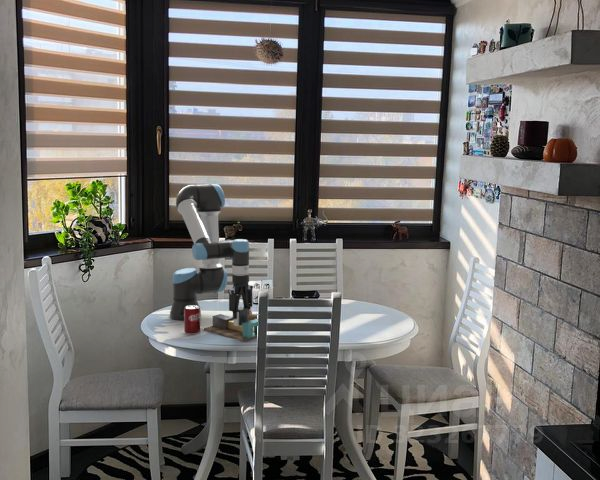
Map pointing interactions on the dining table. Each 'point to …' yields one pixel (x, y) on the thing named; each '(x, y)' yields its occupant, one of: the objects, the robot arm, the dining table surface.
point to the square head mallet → (242, 318)
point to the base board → (229, 333)
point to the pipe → (252, 316)
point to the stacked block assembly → (221, 323)
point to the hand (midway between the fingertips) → (240, 324)
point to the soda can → (192, 319)
